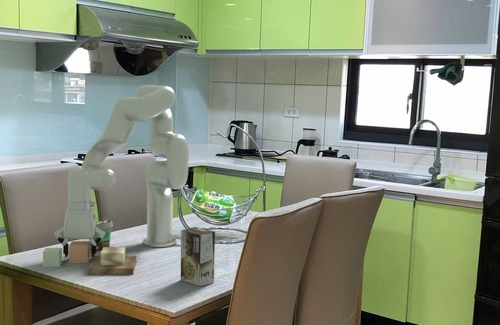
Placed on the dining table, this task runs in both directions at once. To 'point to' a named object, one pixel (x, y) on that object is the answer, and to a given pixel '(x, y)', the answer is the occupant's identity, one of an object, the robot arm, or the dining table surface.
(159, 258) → the dining table surface
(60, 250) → the sage cube
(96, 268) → the tower board
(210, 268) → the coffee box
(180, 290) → the dining table surface
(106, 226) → the food container
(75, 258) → the terracotta cube
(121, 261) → the beech block
